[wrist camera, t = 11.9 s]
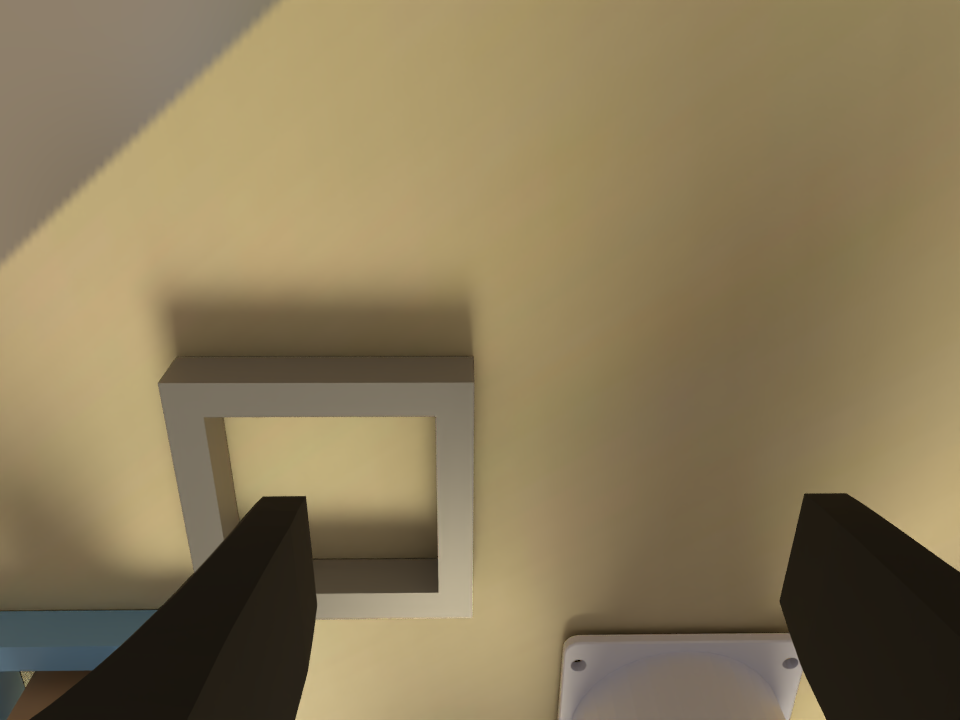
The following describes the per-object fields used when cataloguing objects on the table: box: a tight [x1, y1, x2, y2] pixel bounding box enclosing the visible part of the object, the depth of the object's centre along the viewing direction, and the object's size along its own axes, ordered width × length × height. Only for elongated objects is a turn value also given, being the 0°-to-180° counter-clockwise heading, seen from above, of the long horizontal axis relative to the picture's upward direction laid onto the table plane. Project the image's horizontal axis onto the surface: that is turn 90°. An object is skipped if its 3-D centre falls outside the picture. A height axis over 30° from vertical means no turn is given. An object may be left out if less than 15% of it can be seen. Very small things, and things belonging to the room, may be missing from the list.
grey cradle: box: [158, 357, 474, 619], centre depth 23 cm, size 8×8×2 cm
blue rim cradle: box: [0, 610, 157, 720], centre depth 27 cm, size 8×8×2 cm
